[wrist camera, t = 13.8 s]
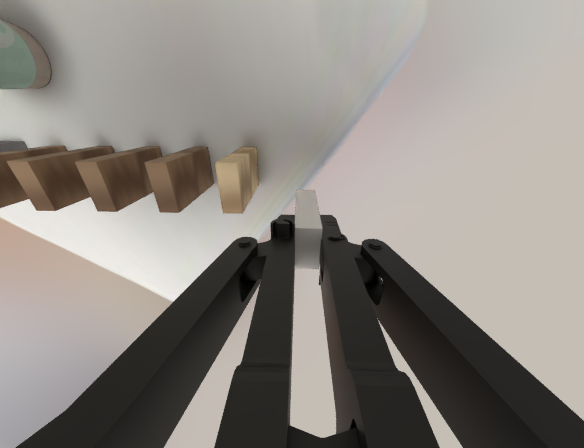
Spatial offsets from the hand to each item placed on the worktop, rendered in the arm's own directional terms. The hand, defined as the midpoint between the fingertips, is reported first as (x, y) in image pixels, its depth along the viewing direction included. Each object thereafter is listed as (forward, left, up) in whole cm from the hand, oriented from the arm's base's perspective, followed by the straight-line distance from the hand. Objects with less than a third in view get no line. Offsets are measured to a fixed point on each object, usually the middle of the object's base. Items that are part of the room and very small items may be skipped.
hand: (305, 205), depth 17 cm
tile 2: (0, -14, -13) cm, 19 cm away
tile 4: (0, -27, -13) cm, 30 cm away
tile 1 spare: (0, -7, -13) cm, 15 cm away
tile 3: (0, -20, -13) cm, 24 cm away
